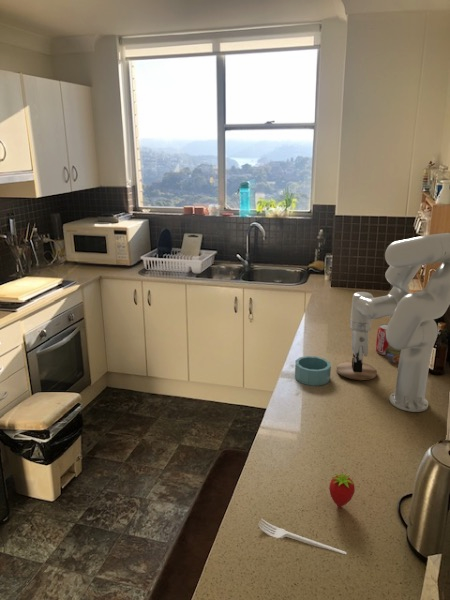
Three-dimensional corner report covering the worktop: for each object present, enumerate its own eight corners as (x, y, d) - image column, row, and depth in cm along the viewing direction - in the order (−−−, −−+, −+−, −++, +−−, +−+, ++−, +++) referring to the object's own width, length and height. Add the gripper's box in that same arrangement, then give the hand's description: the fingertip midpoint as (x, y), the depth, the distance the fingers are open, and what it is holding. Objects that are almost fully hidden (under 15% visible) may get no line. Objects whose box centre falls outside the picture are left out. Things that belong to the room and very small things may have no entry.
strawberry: (354, 499, 119) (358, 465, 116) (350, 520, 113) (354, 484, 110) (330, 493, 121) (333, 459, 118) (325, 513, 115) (328, 478, 112)
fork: (345, 562, 102) (346, 555, 102) (256, 532, 109) (256, 526, 109) (347, 550, 105) (348, 544, 105) (260, 523, 112) (261, 516, 111)
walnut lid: (379, 383, 178) (381, 368, 176) (338, 380, 180) (339, 366, 178) (372, 366, 192) (374, 352, 191) (334, 364, 194) (335, 350, 192)
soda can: (393, 356, 202) (396, 330, 198) (376, 355, 203) (379, 328, 200) (391, 350, 208) (394, 324, 205) (374, 348, 210) (377, 323, 206)
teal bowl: (330, 386, 176) (332, 371, 174) (295, 384, 177) (296, 369, 175) (327, 371, 188) (328, 357, 186) (294, 369, 190) (295, 355, 188)
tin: (383, 361, 198) (386, 342, 195) (385, 358, 200) (387, 339, 198) (422, 369, 191) (425, 349, 189) (423, 366, 194) (426, 346, 191)
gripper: (374, 332, 172) (370, 379, 177) (367, 318, 188) (363, 361, 193) (353, 332, 173) (349, 378, 178) (347, 317, 189) (344, 360, 194)
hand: (356, 369), depth 186 cm, fingers closed on walnut lid, 3 cm apart
